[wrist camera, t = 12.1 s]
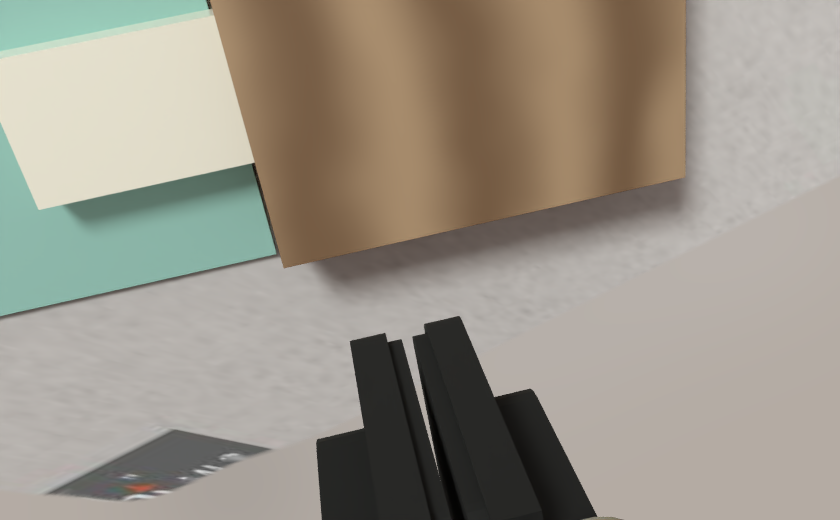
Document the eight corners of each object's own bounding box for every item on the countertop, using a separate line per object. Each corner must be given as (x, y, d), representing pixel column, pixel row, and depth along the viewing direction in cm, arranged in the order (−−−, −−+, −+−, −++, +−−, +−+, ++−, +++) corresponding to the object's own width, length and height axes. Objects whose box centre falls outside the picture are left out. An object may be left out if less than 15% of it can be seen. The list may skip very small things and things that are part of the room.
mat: (172, -122, 29) (172, -122, 29) (276, 251, 36) (276, 254, 36) (-245, -48, 28) (-250, -47, 27) (-49, 324, 35) (-52, 327, 35)
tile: (219, 6, 31) (216, 14, 29) (258, 147, 34) (257, 162, 32) (-9, 52, 30) (-26, 63, 28) (50, 192, 33) (38, 209, 31)
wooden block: (638, -176, 31) (686, -183, 28) (645, 149, 38) (685, 177, 34) (193, -96, 30) (184, -92, 26) (281, 230, 36) (283, 268, 32)
